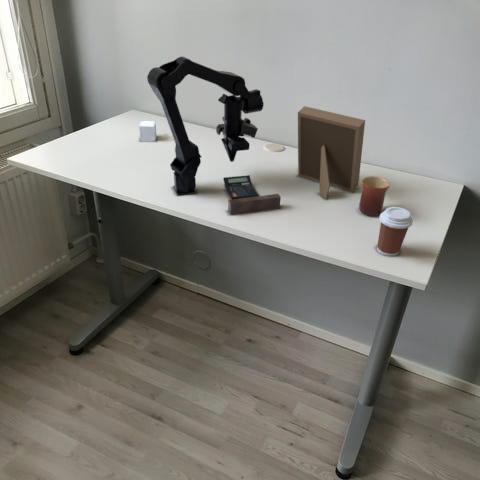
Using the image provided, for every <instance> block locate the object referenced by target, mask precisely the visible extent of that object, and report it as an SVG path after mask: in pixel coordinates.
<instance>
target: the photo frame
mask: <svg viewBox="0 0 480 480" xmlns="http://www.w3.org/2000/svg"><path fill="white" fill-rule="evenodd" d="M365 126H366V119H362V118H357V117H354V116H349V115H344V114H341V113H337V112H333V111H332V112H331V111H327V110H322V109H319V108H315V107H309V106H306V105H303V107H302V108H301V109H300V110H299V111H298V112H297V177H300V178H302V179H305V180H310V181H312V182H316V183H319V188H318V189H319V192H318V194H319V195H320V196H321V197H323V198H324V199H328V196H329V192H330V189H331V187H333V188H337V189H339V190H342V191H346V192H349V193H354V192H355V190H356V189H357V188H358V187H359V185H360V184H359V182H360V173H361V165H362V163H361V162H362V154H363V145H364V136H365Z"/></svg>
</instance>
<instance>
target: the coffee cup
mask: <svg viewBox="0 0 480 480" xmlns="http://www.w3.org/2000/svg"><path fill="white" fill-rule="evenodd" d="M411 215H412V214H411V212H410V211H409V210H408V209H405V208H403V207H399V206H389V207H387V208H386V209H385V210H384V211H382V212H380V214H379V216H378V217H379V218H378V219H379V221H380V226H379V232H378V239H377V247H376V249H377V251H378V253H380V254H382V255H384V256H389V257H394V256H397V255H399V254H400V250H401V248H402V246H403V243H404V240H405V238H406V236H407V232H408V230H409V229H410V227H412V226H413V224H414V223H413V222H414V219H413V217H412V216H411Z"/></svg>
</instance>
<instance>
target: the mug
mask: <svg viewBox="0 0 480 480" xmlns="http://www.w3.org/2000/svg"><path fill="white" fill-rule="evenodd" d="M361 185H362V191H361V195H360V198H359V199H360V200H359V204H358V205H359V206H358V211H360V213H361V214H362V215H365V216H369V217H375V216H378V215H380V214H381V213H382V210H383V207H384V203H385V202H384V201H385V197H386V194H387V191H388V190H389V188H390V187H391V182H390V181H389V179H388V178H385V177H380V176H375V175H374V176H365V177H363V178H362V180H361Z"/></svg>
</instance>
